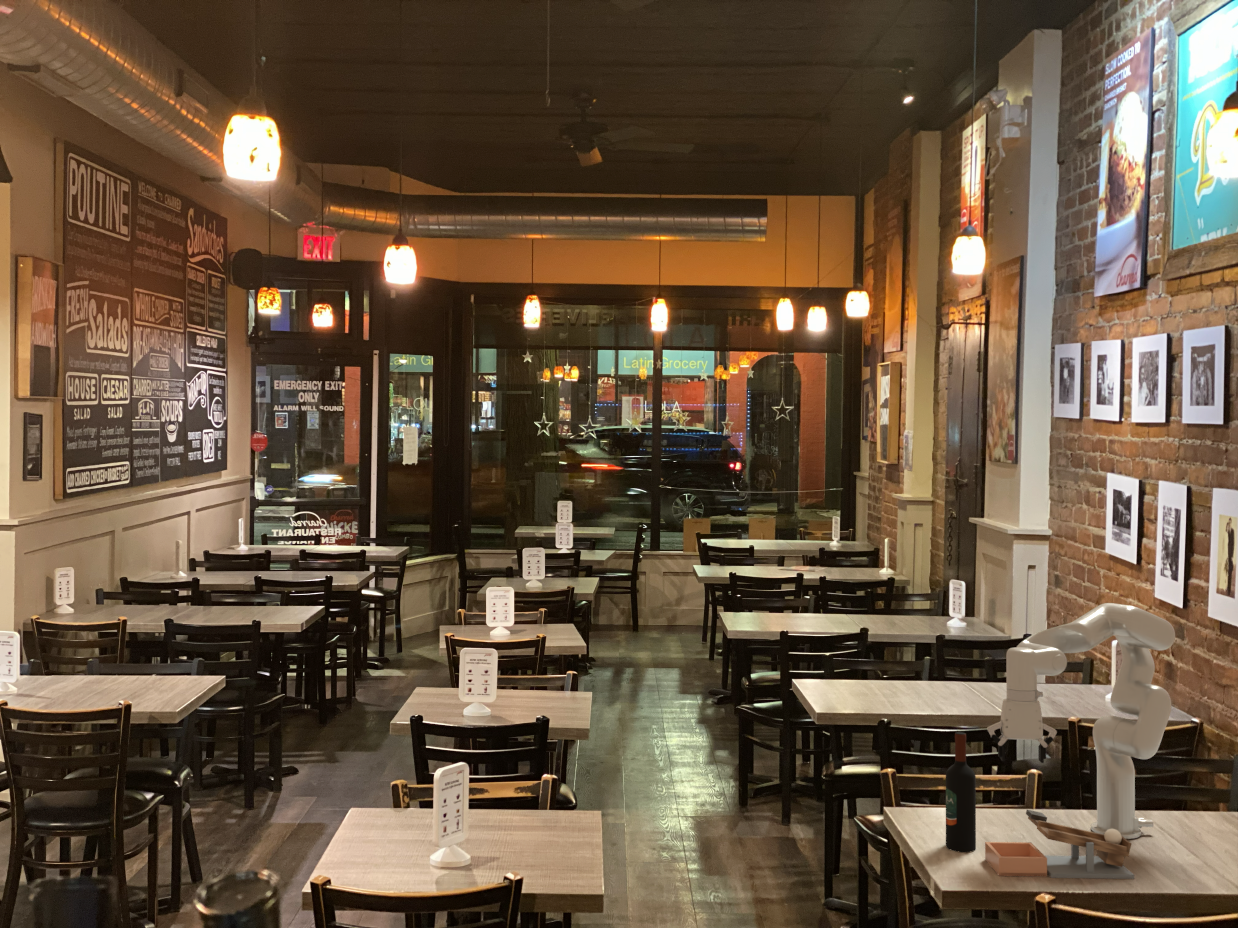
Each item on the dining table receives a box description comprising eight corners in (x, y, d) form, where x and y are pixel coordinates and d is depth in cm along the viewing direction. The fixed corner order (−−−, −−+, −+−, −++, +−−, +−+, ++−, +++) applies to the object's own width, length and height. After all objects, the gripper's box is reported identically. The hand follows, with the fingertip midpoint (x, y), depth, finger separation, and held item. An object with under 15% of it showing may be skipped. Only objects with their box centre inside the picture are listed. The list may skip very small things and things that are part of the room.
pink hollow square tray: (1031, 859, 284) (1031, 842, 284) (1047, 876, 273) (1047, 857, 273) (985, 859, 285) (985, 841, 285) (999, 875, 273) (999, 857, 273)
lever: (1098, 845, 291) (1103, 821, 291) (1125, 868, 274) (1131, 843, 274) (1022, 828, 291) (1027, 804, 291) (1045, 850, 274) (1050, 825, 274)
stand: (1112, 859, 284) (1112, 828, 284) (1134, 878, 271) (1134, 845, 271) (1033, 858, 285) (1032, 827, 285) (1051, 877, 272) (1050, 844, 272)
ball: (1117, 842, 280) (1118, 827, 280) (1123, 848, 276) (1125, 832, 276) (1101, 841, 280) (1102, 825, 280) (1107, 846, 276) (1108, 830, 276)
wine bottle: (971, 853, 289) (971, 737, 289) (942, 848, 293) (942, 734, 293) (979, 845, 295) (978, 732, 295) (950, 840, 299) (950, 728, 299)
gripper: (1053, 693, 294) (1053, 758, 294) (985, 691, 297) (985, 755, 297) (1059, 699, 287) (1059, 765, 287) (989, 697, 290) (989, 762, 290)
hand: (1021, 760), depth 292 cm, fingers open, 9 cm apart
